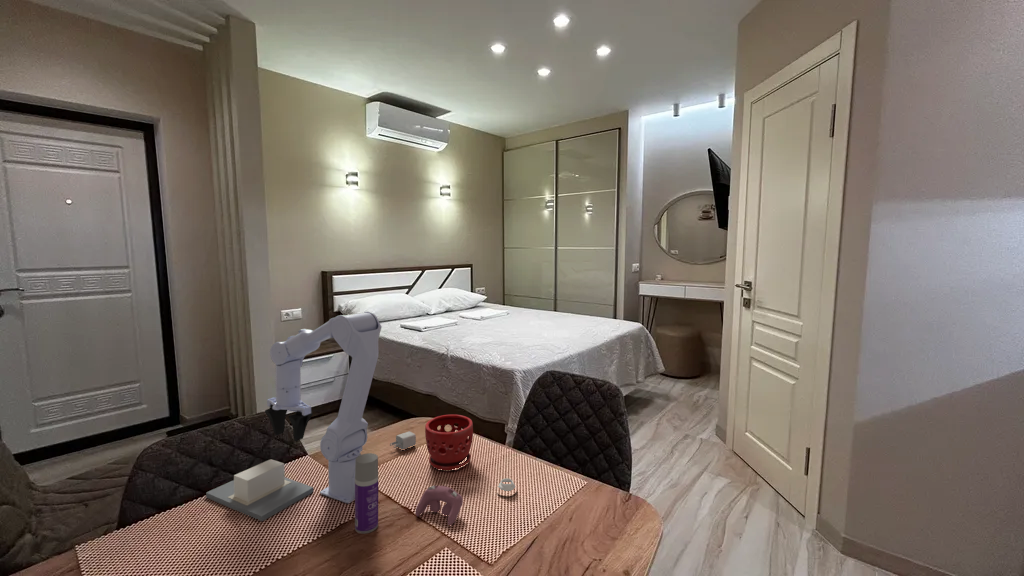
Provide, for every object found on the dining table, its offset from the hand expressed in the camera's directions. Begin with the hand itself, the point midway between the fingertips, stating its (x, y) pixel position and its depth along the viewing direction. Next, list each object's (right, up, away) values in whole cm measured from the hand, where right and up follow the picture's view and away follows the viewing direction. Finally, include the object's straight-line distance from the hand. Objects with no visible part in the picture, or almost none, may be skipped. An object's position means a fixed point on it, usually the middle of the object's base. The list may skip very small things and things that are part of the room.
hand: (288, 436), depth 110 cm
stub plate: (-1, -10, -11) cm, 15 cm away
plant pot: (+41, -10, +6) cm, 43 cm away
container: (+28, -12, -22) cm, 37 cm away
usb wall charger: (+26, -9, +15) cm, 31 cm away
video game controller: (+43, -12, -17) cm, 47 cm away
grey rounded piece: (+58, -12, -7) cm, 59 cm away
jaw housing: (-1, -9, -11) cm, 14 cm away
